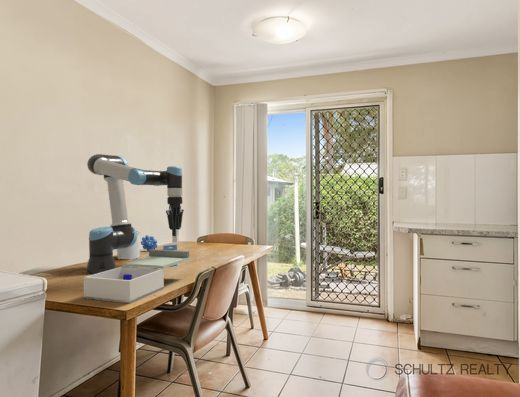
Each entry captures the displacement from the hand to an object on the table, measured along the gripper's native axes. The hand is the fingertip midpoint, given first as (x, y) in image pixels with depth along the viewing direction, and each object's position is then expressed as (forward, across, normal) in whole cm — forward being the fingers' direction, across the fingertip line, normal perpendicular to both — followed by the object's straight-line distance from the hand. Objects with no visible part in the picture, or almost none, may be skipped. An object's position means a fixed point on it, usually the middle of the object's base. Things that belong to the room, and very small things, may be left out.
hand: (175, 242), depth 184 cm
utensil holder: (+17, -32, -57) cm, 67 cm away
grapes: (+17, -58, -60) cm, 85 cm away
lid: (+8, +16, 0) cm, 18 cm away
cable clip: (+16, +40, 0) cm, 43 cm away
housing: (+17, +38, +1) cm, 42 cm away
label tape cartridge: (+17, -16, -16) cm, 28 cm away
